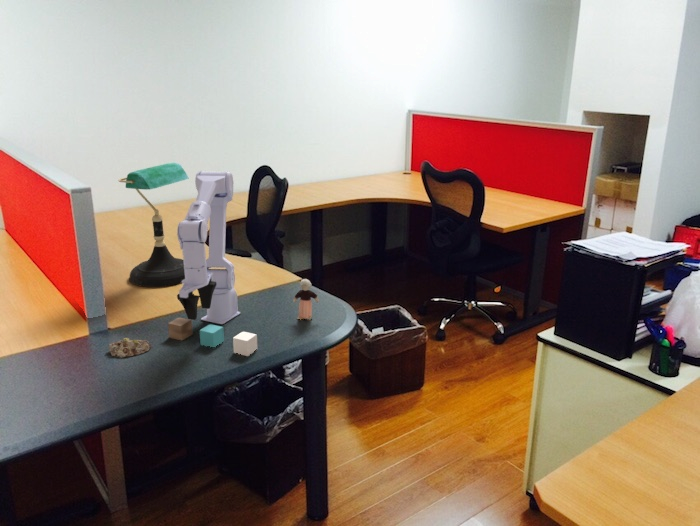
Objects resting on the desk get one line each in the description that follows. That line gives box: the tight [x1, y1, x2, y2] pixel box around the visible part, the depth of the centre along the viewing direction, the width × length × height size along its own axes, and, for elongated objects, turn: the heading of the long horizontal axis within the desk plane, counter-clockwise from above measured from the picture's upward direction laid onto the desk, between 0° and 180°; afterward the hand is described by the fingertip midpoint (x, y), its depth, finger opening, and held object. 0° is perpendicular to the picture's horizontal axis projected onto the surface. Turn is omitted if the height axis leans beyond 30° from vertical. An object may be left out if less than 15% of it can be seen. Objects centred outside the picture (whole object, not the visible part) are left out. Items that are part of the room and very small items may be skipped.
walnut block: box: [167, 317, 193, 341], centre depth 165 cm, size 4×4×4 cm
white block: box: [232, 331, 258, 357], centre depth 156 cm, size 4×4×4 cm
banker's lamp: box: [118, 162, 189, 288], centre depth 208 cm, size 26×23×40 cm
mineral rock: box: [108, 337, 152, 359], centre depth 157 cm, size 11×4×8 cm
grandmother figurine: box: [292, 278, 320, 321], centre depth 176 cm, size 8×4×13 cm, turn 99°
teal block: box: [199, 323, 225, 348], centre depth 161 cm, size 4×4×4 cm
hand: (199, 313), depth 157 cm, fingers open, 7 cm apart
